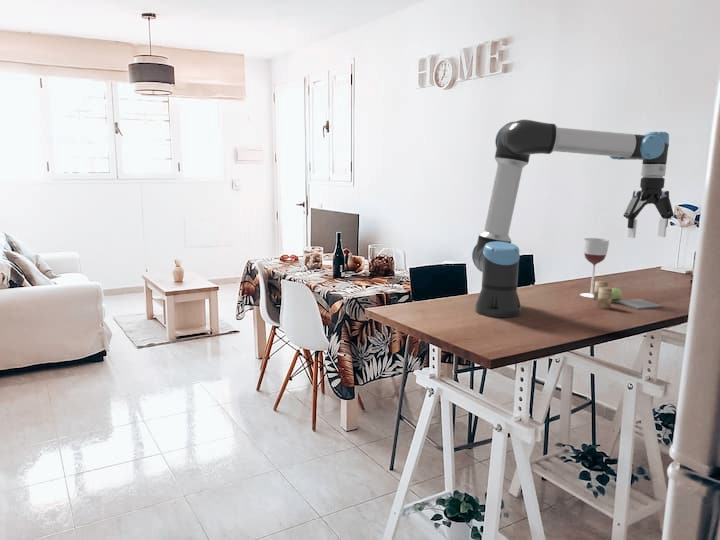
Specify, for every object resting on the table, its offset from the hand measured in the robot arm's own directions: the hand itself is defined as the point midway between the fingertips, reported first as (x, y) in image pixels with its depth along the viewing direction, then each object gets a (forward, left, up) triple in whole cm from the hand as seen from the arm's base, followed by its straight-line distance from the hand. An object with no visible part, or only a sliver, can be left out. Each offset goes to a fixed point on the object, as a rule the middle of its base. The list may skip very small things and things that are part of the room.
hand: (646, 237), depth 202 cm
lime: (-3, +9, -25) cm, 27 cm away
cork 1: (-9, +10, -25) cm, 28 cm away
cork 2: (-16, 0, -25) cm, 30 cm away
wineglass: (-7, +17, -25) cm, 31 cm away
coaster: (0, 0, -25) cm, 25 cm away
